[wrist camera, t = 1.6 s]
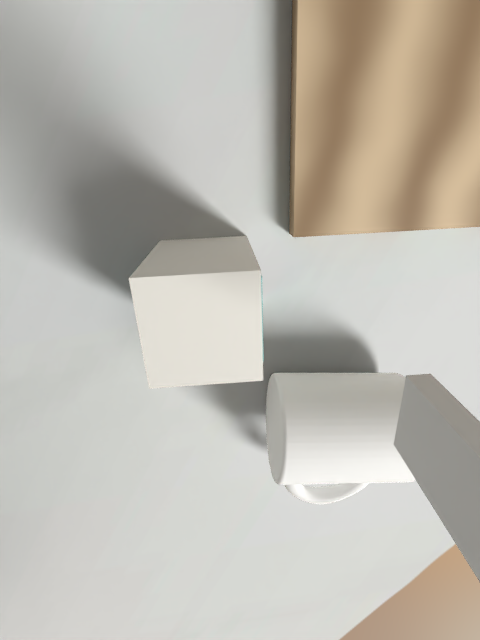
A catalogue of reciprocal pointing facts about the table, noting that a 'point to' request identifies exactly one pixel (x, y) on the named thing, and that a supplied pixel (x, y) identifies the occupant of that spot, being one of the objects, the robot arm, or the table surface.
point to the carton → (200, 312)
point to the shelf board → (384, 116)
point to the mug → (334, 432)
